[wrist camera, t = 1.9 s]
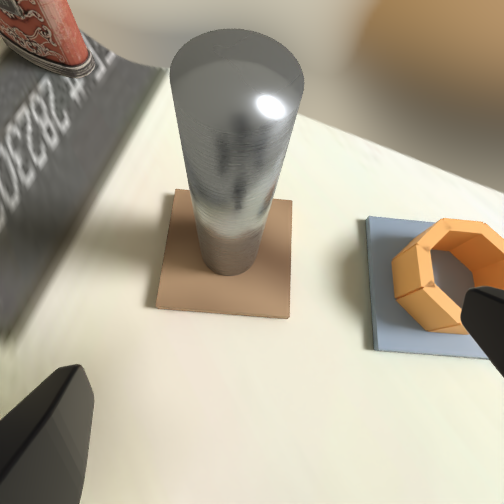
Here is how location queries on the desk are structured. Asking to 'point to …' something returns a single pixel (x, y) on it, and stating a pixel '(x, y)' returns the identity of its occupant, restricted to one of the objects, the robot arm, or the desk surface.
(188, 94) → the steel peg
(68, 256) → the desk surface
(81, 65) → the lighter
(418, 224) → the socket plate
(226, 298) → the board
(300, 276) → the desk surface
